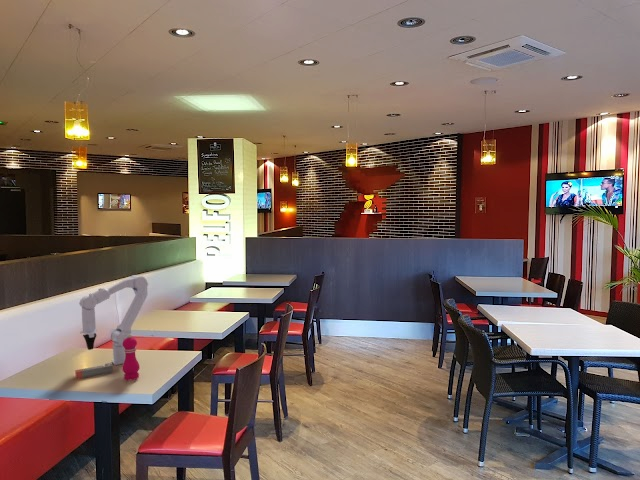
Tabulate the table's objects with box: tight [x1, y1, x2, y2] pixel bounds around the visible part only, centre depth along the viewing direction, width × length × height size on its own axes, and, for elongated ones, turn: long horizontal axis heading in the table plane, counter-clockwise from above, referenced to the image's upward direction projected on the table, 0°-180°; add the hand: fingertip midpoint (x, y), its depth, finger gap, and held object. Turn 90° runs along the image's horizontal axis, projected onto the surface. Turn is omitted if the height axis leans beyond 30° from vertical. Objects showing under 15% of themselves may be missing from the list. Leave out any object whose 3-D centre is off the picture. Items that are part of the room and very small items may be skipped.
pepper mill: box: [122, 333, 140, 381], centre depth 221 cm, size 7×7×20 cm
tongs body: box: [75, 362, 113, 380], centre depth 227 cm, size 16×5×3 cm, turn 123°
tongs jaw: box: [74, 364, 104, 378], centre depth 227 cm, size 12×2×3 cm, turn 123°
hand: (90, 349), depth 236 cm, fingers closed
